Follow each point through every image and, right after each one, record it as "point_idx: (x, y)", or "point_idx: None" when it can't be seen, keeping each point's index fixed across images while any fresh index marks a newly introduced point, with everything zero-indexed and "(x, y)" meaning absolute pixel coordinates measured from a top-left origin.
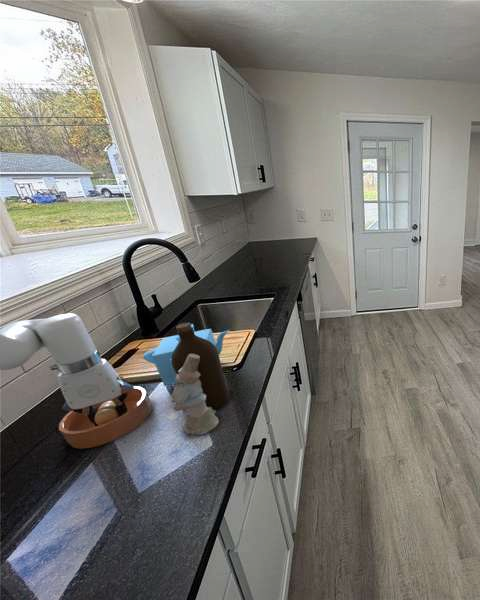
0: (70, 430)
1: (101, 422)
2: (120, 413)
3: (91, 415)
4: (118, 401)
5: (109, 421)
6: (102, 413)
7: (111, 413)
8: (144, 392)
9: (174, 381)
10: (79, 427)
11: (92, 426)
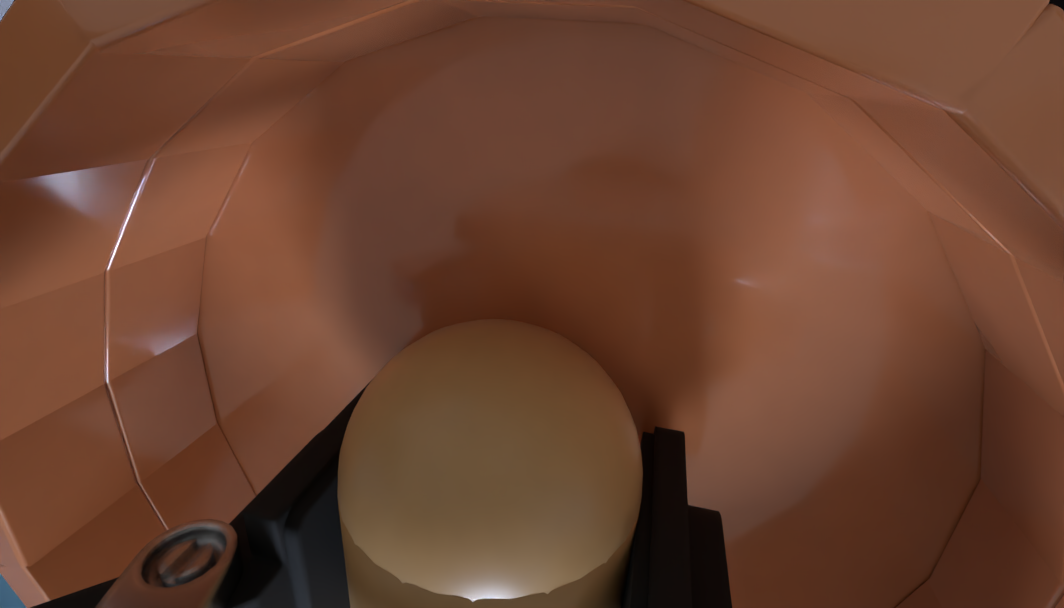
0: (1001, 562)
1: (530, 346)
2: (343, 418)
3: (654, 598)
4: (124, 598)
5: (450, 328)
6: (439, 492)
7: (353, 427)
8: (20, 587)
9: (23, 605)
10: (879, 581)
11: (734, 489)
